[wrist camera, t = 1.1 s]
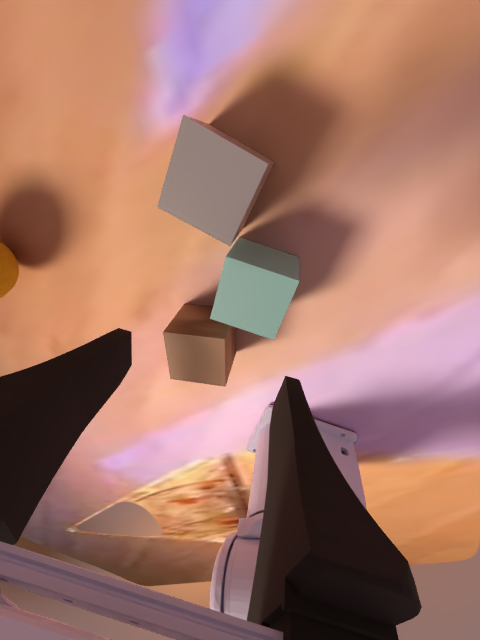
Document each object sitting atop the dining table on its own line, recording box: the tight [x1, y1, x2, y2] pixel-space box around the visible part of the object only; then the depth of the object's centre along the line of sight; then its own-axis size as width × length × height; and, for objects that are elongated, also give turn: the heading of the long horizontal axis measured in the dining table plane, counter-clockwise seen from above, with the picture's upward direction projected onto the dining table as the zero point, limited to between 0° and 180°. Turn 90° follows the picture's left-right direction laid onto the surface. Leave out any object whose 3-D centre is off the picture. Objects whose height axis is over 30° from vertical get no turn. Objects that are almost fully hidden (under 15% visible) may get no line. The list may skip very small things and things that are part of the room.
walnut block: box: [163, 304, 236, 386], centre depth 22 cm, size 4×4×4 cm
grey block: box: [158, 115, 274, 246], centre depth 16 cm, size 4×4×4 cm
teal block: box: [210, 237, 300, 340], centre depth 19 cm, size 4×4×4 cm
